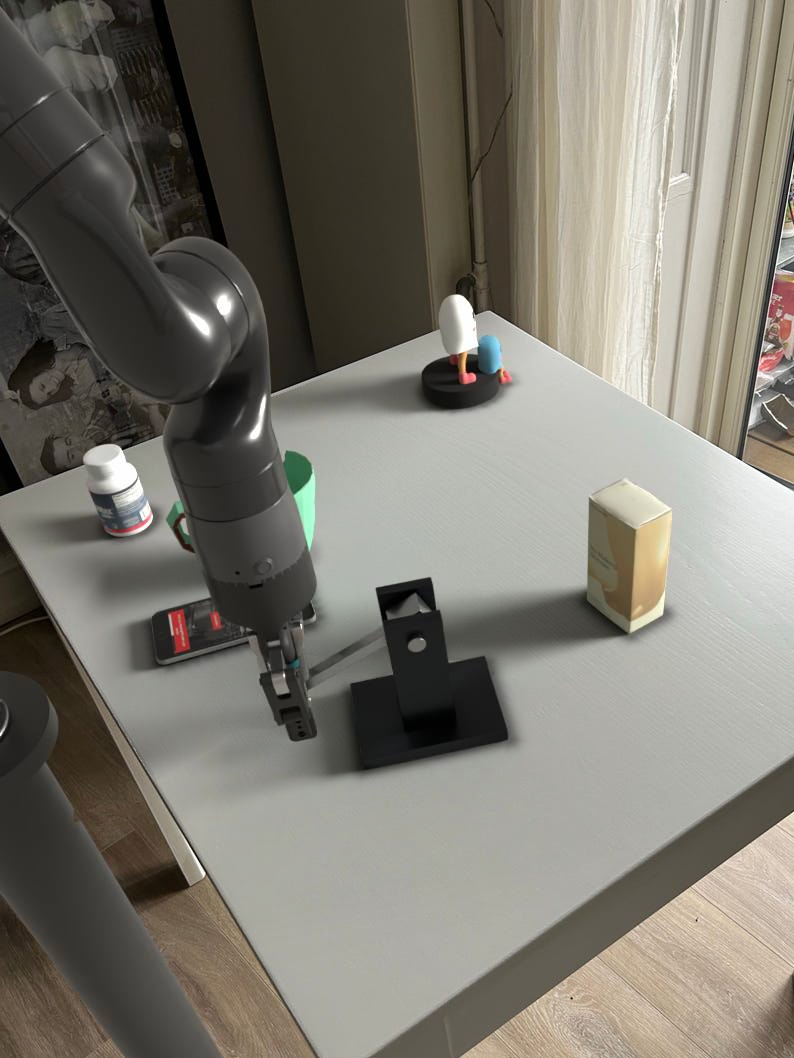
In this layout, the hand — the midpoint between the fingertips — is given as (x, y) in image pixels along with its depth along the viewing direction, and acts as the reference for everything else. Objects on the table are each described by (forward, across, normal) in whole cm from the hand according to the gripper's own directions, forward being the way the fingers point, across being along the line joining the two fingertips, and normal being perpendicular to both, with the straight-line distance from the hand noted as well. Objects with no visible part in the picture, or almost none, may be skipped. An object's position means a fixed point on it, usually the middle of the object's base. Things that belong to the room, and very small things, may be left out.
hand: (301, 708), depth 80 cm
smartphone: (+4, -17, -6) cm, 18 cm away
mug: (+4, -25, -3) cm, 26 cm away
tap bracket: (+4, 0, +10) cm, 11 cm away
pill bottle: (+4, -37, -17) cm, 41 cm away
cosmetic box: (+4, -8, +30) cm, 31 cm away
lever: (-4, 0, +6) cm, 7 cm away
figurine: (+4, -53, +24) cm, 58 cm away
